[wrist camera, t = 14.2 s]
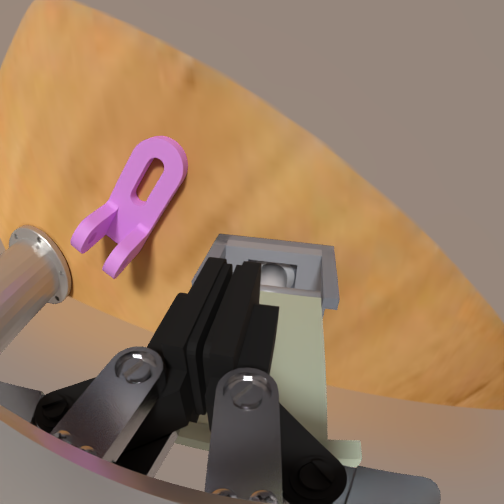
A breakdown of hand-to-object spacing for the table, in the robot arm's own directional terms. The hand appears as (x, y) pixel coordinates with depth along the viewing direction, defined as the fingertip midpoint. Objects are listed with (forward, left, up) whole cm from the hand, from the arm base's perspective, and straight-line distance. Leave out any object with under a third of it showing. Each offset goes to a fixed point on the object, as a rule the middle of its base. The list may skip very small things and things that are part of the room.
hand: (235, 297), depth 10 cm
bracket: (-14, -4, -20) cm, 24 cm away
